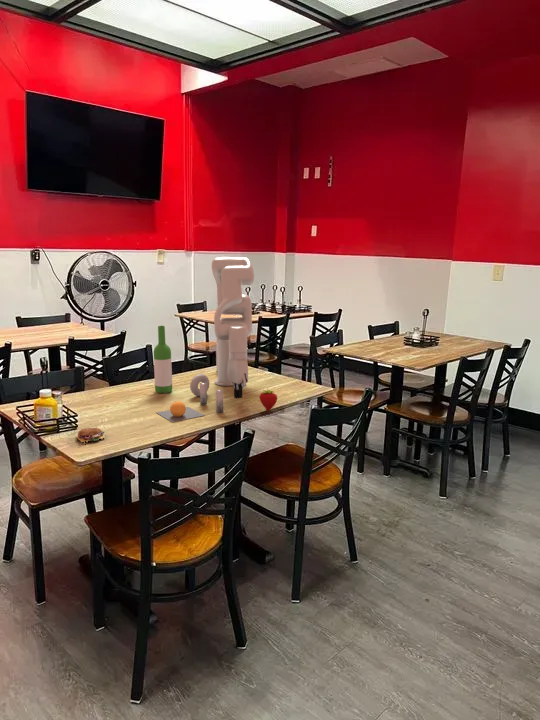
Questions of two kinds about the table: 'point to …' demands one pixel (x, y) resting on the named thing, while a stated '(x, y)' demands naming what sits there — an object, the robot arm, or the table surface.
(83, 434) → the hamburger
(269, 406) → the strawberry
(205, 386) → the post
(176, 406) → the ball
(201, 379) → the donut
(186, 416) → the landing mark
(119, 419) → the table surface
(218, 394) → the post
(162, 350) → the wine bottle
